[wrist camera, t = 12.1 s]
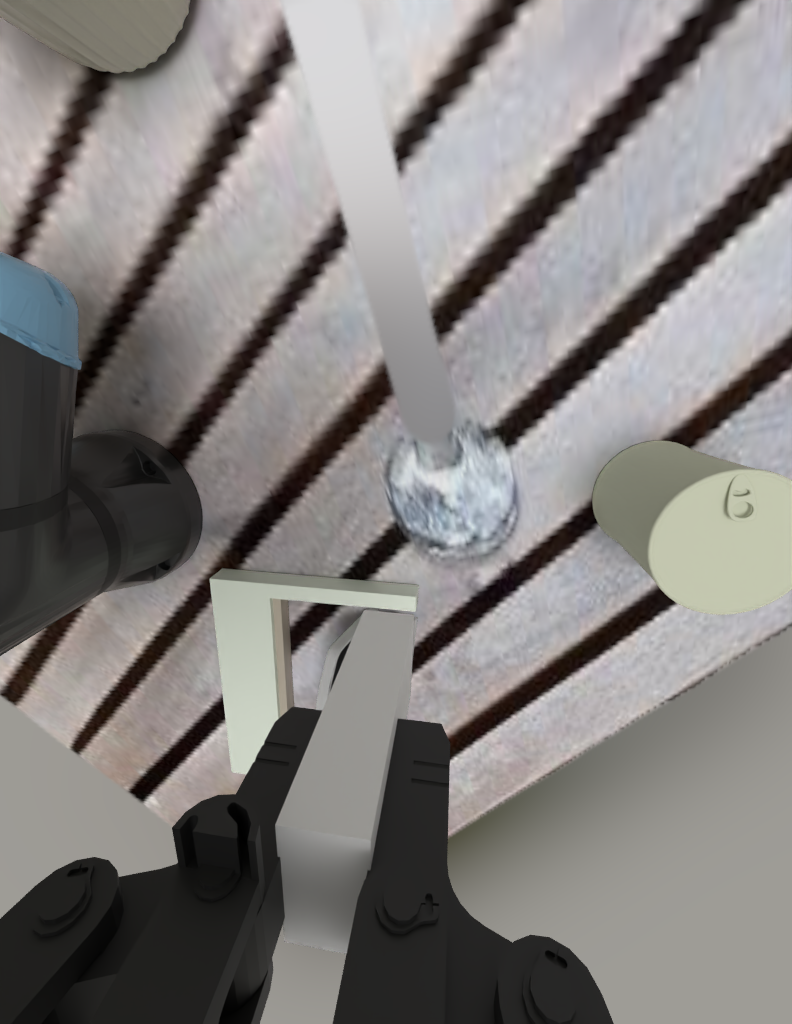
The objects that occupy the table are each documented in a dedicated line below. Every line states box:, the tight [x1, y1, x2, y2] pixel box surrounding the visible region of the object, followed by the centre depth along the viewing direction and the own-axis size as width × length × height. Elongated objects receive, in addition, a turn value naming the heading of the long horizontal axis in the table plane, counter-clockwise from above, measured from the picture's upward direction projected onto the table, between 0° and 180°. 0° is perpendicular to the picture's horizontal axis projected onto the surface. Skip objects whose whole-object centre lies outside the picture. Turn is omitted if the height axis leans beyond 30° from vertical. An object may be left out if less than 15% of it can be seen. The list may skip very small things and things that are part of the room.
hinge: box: [316, 608, 418, 710], centre depth 42 cm, size 17×5×10 cm, turn 175°
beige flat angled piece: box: [210, 568, 419, 774], centre depth 45 cm, size 20×24×2 cm
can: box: [592, 441, 792, 615], centre depth 30 cm, size 9×9×12 cm
